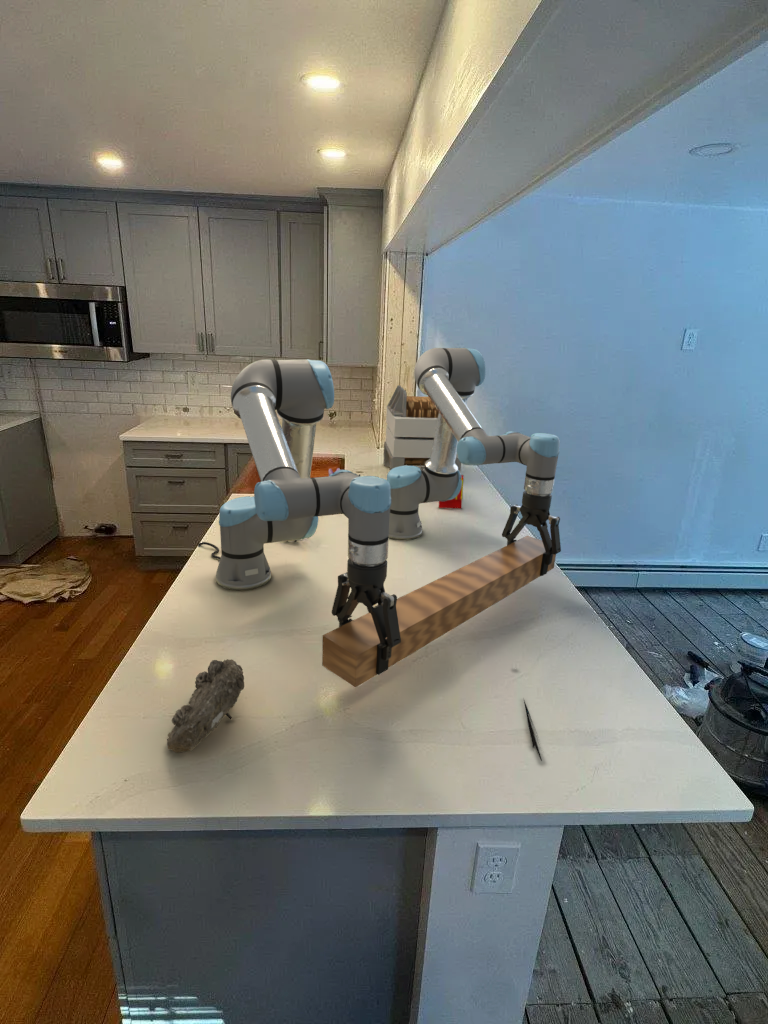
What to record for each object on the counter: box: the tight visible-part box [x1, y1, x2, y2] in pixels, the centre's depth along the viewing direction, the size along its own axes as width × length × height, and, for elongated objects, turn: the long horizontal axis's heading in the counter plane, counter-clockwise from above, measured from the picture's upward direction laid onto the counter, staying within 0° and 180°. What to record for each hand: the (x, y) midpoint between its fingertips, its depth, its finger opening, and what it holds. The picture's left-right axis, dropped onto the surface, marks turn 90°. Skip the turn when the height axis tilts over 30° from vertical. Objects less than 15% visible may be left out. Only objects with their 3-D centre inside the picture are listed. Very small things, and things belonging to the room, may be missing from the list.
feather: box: [514, 668, 543, 762], centre depth 113 cm, size 2×28×2 cm
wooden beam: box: [321, 535, 557, 689], centre depth 135 cm, size 78×10×7 cm, turn 137°
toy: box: [438, 474, 465, 510], centre depth 239 cm, size 12×13×30 cm
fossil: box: [166, 658, 245, 754], centre depth 106 cm, size 22×10×15 cm
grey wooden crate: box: [383, 384, 462, 474], centre depth 268 cm, size 34×33×41 cm
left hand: (363, 659), depth 114 cm, fingers closed on wooden beam, 10 cm apart
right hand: (526, 568), depth 159 cm, fingers closed on wooden beam, 10 cm apart
